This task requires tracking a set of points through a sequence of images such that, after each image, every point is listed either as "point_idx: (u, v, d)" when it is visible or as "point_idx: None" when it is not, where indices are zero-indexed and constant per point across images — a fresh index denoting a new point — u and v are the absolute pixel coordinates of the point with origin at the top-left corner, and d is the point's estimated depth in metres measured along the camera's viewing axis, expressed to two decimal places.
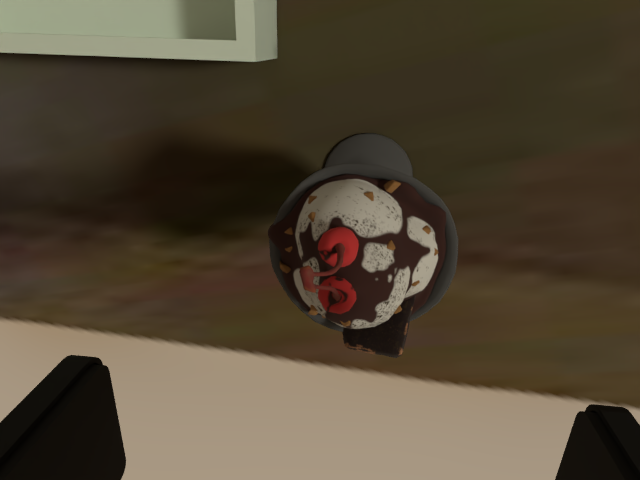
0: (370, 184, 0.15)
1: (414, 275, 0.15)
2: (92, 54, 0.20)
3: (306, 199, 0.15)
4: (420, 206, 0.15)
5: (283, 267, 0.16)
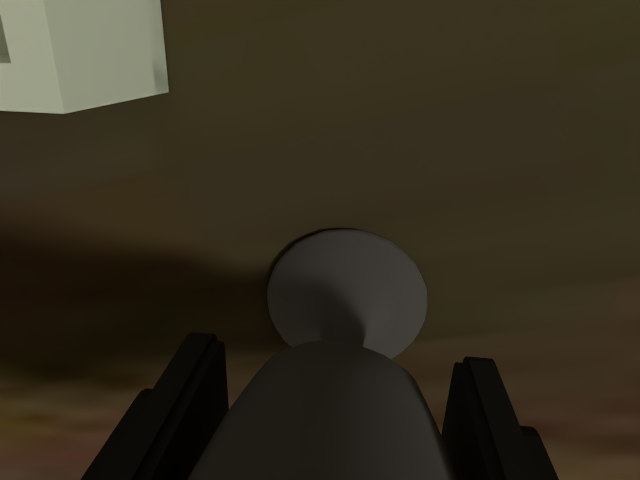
0: None
1: None
2: None
3: None
4: None
5: None
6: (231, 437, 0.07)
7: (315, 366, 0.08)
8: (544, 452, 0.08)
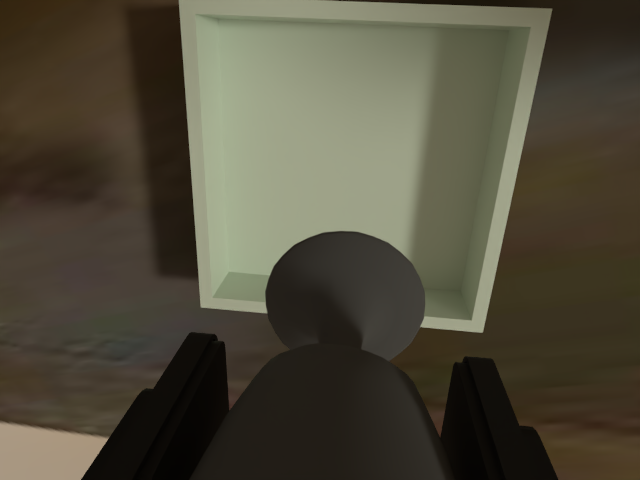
0: None
1: None
2: None
3: None
4: None
5: None
6: (230, 441, 0.07)
7: (314, 369, 0.08)
8: (543, 452, 0.08)
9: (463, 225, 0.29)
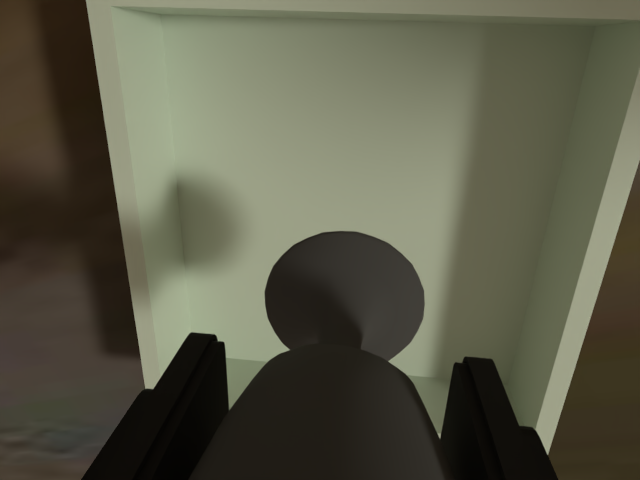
0: None
1: None
2: None
3: None
4: None
5: None
6: (229, 441, 0.07)
7: (313, 369, 0.08)
8: (544, 453, 0.08)
9: (515, 301, 0.21)
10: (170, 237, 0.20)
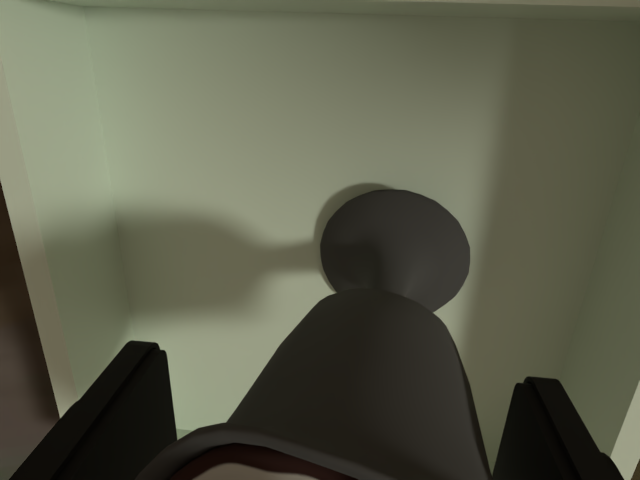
0: None
1: None
2: None
3: None
4: None
5: None
6: (282, 360, 0.08)
7: (354, 308, 0.09)
8: None
9: (545, 369, 0.17)
10: (107, 293, 0.16)
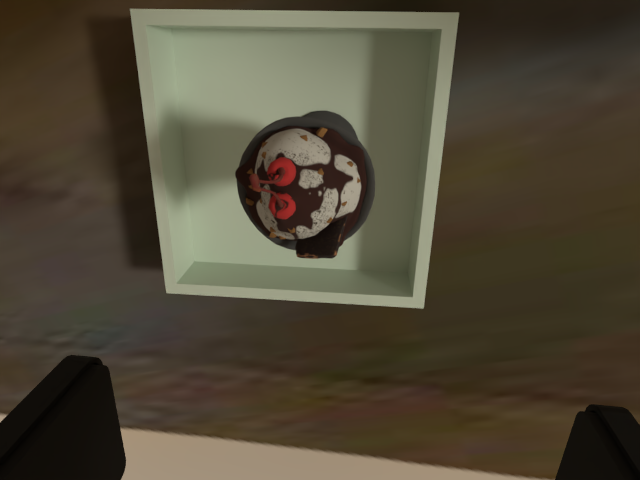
0: (306, 131, 0.20)
1: (342, 196, 0.21)
2: (316, 301, 0.31)
3: (261, 146, 0.21)
4: (344, 146, 0.21)
5: (248, 201, 0.22)
6: None
7: None
8: None
9: (405, 211, 0.32)
10: (178, 172, 0.31)
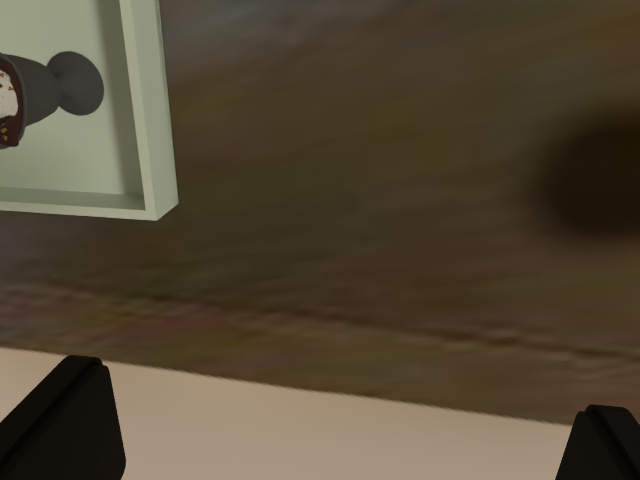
0: None
1: None
2: (70, 214, 0.37)
3: None
4: None
5: None
6: None
7: None
8: None
9: None
10: None
